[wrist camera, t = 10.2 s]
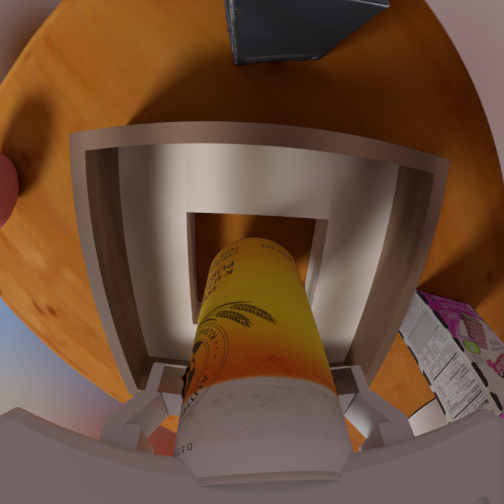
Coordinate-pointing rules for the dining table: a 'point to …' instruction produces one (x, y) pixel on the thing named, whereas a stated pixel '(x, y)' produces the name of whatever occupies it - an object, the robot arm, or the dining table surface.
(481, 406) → the candy bar box
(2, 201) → the apple
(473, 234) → the dining table surface
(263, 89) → the dining table surface
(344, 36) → the small box
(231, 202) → the wooden box
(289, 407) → the beer can
